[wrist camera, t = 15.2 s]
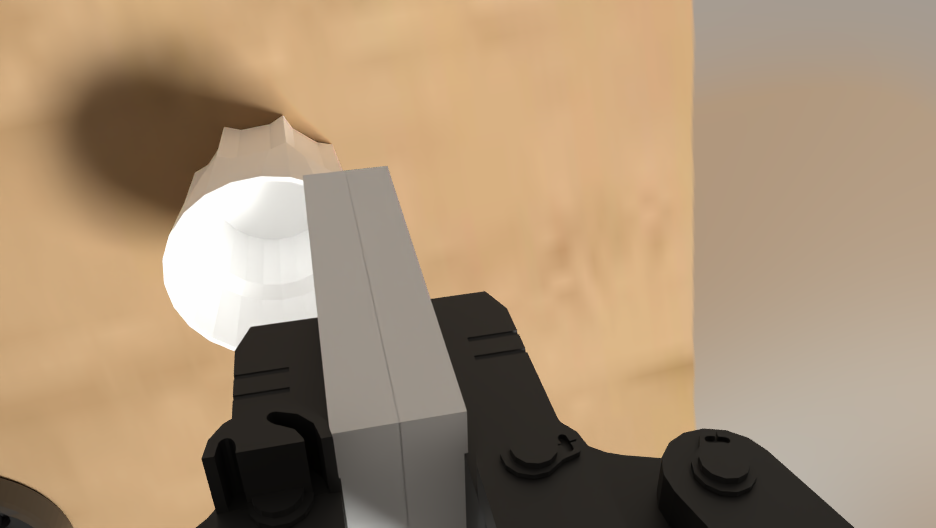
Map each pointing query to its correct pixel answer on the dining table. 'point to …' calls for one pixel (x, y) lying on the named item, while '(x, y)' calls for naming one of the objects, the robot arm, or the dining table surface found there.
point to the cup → (247, 234)
